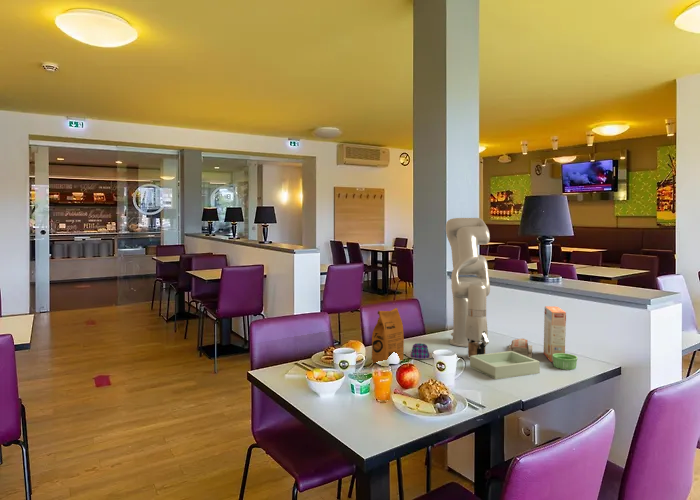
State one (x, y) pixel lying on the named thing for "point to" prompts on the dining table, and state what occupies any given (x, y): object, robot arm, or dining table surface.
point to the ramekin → (564, 361)
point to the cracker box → (554, 331)
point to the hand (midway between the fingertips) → (476, 355)
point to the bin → (504, 364)
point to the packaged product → (521, 347)
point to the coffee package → (388, 336)
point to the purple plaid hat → (419, 352)
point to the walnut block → (473, 349)
